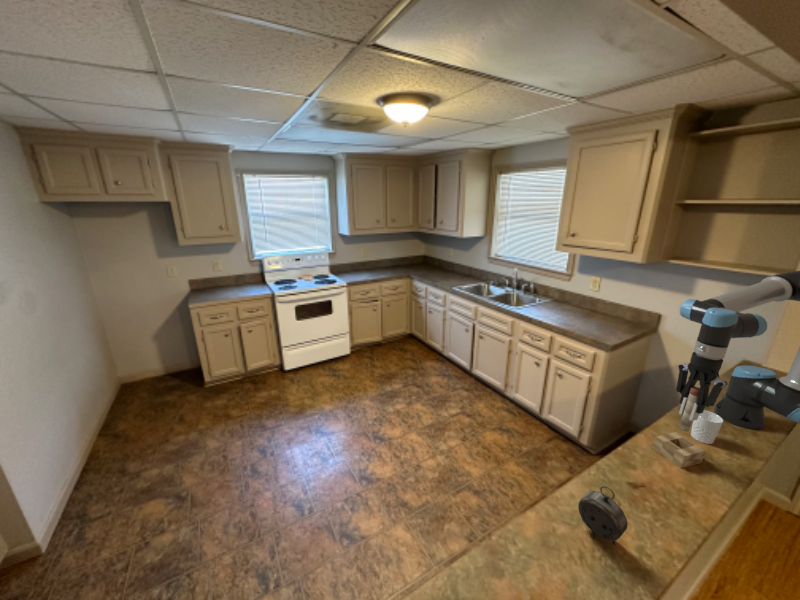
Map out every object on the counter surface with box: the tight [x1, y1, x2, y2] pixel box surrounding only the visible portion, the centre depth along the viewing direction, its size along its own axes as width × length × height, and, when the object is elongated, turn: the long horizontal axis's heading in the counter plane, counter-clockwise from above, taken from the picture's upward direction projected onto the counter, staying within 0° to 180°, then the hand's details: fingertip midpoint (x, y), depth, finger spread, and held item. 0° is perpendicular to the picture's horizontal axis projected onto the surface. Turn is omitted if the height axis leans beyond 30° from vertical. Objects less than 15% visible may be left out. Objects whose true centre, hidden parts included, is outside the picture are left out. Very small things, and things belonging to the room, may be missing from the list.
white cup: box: [690, 409, 724, 445], centre depth 127 cm, size 8×8×10 cm
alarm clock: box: [577, 485, 628, 546], centre depth 89 cm, size 11×5×16 cm, turn 34°
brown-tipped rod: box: [678, 386, 700, 432], centre depth 114 cm, size 3×3×16 cm
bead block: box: [652, 431, 706, 469], centre depth 119 cm, size 10×10×5 cm
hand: (687, 416), depth 115 cm, fingers closed on brown-tipped rod, 3 cm apart
